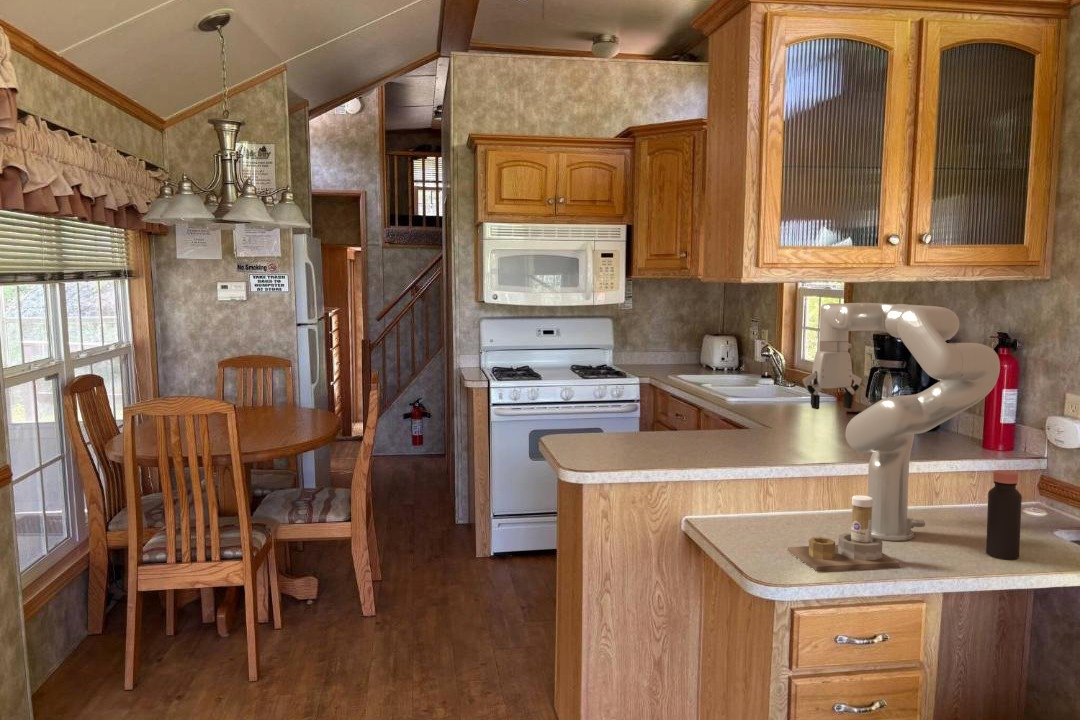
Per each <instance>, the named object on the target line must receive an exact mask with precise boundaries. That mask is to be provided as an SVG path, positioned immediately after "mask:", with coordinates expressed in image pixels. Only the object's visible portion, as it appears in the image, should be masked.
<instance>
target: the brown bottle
mask: <svg viewBox="0 0 1080 720" xmlns="http://www.w3.org/2000/svg"><path fill="white" fill-rule="evenodd" d="M1018 474H1019V473H1018V472H1015V471H1011V470H1003V469H1002V470H999V469H998V470H993V477H992V479H993V480H992V481H993V484H994V486H993V487H992V488H990V489H989V490H988V492H987V493H988V494H987V517H986V521H987V522H986V540H985V541H986V546H985V547H986V548H985V552H986V555H988V556H990V557H992V558H995V559H999V560H1005V561H1006V560H1007V561H1013V560H1014V561H1015V560H1017V559H1019V558H1020V547H1021V523H1022V522H1021V521H1022V498H1023V496H1022V494H1021V492H1020V491H1018V489H1017V488H1016V486H1018V480H1019V477H1018V476H1019V475H1018Z"/></svg>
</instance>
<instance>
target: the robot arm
mask: <svg viewBox="0 0 1080 720" xmlns="http://www.w3.org/2000/svg"><path fill="white" fill-rule="evenodd" d="M819 312H820V313H819V315H820V316H819V343H818V344H819V345H818V347H819V348H818V351H817V352H815V355H814V358H813V365H812V371H811V374H809V375H808V376H806V377H804V378H802V383H803V385H804V386H805V387H804V388H805V389H806V390H807V392H808V393H809V394H810V406H811V407H810V408H811V409H813V410H819V409H820V405H821V404H820V401H821V398H820V397H821V396H820V395H819V393H820V392H821V391H822V389H843V391H844V393H843V399H842V400H843V402H842V403H843V408H845V409H849V410H851V409H852V405H853V398H854V397H853V396H854V395H855V394H856V391H857V390H859V387H860V385H861V383H862V381H863V378H862V377H860V376H857V375H856V374H855V373H853V366H852V364H853V363H852V359H851V354H850V352H848V351H849V349H852V347H853V345H852V343H849V332H857V331H879V332H887V333H888V334H889V335H890V336H891V337H894V338H896V339H897V338H899V339H900V340H901V342H902V343H903V344H904V346H905V347H906V348H907V349H908V351H909V352H910V353H911V355H912V357H913V358H914V359H915V360H916V362H917V363H918V365H920V367H921V368H922V370H923V372H925V373H926V374H927V375H928V376H930V377H931V378H933V379H935V380H937V381H938V382H936V383H934V384H933V385H931V386H930V387H928V388H926V389H924V390H923V391H920V392H918V393H916V394H908V395H907V394H906V395H894V396H889V397H886V398H882V399H881V400H877V402H874V404H872V405H871V406H869V407H867V408H865V409H864V410H862V411H860V412H859V413H858V414H856V415H854V416H853V417H852V418H851V419H850V421H849V422H848V423H847V426H846V429H845V434H844V435H845V439H846V442H847V444H848V445H849V447H850V448H851V449H852V450H855V451H857V452H859V453H871V456H870V459H869V463H868V474H867V475H868V477H867V479H868V480H867V496H869V497H871V498H873V506H872V530H871V535H872V536H876V537H878V538H880V539H882V541H883V540H884V541H893V542H894V541H901V540H902V541H908V539H909V540H911V539H913V538H914V531H913V529H914V528H915V527H916V528H924V527H925V526H926V522H925V519H921V518H920V519H915V518H913V517H909V516H908V514H909V513H908V510H909V509H908V508H909V507H908V504H909V476H910V459H911V453H912V447H913V444H914V440H915V439H914V438H915V435H918V434H923V433H927V432H928V431H930V430H933V429H934V428H936V427H937V426H939V425H942V424H943V423H945V422H947V421H948V420H950V419H952V418H954V417H955V416H956V415H959V414H960V413H962V412H964V411H966V410H967V409H970V408H971V407H973V406H975V405H976V404H978V403H979V402H980V401H982V400H983V399H985V398H986V397H987V396H988V395H989V394H990V392H991V391H992V390H993V389H994V388H995V386H996V384H997V382H998V379H999V376H1000V371H1001V364H1000V363H1001V361H1000V358H999V355H998V353H997V352H996V351H995V350H994V349H993V348H991V347H990V346H988V345H987V344H986V345H985V344H983V343H980V342H979V343H978V342H949V343H947V340H950V339H951V338H953V337H954V336H955V335H956V334H957V332H958V331H959V328H960V320H959V317H958V315H957V313H955V312H954V311H953V310H951V309H950V308H947V307H945V306H944V307H942V306H935V305H922V304H907V303H905V304H904V303H897V304H892V303H878V302H846V303H835V302H834V303H833V302H831V303H823V304H822V305H821V306H820V311H819ZM852 383H853V384H852Z"/></svg>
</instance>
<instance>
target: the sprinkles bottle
mask: <svg viewBox="0 0 1080 720" xmlns="http://www.w3.org/2000/svg"><path fill="white" fill-rule="evenodd" d="M851 505H852V506H851V507H852V508H851V509H852V512H851V528H850V529H851V530H850V531H851V532H850V533H851V542H855V543H863V544H869V543H871V530H872V506H873V498H871V497H869V496H868V495H861V494H856V495H853V496H852V497H851Z"/></svg>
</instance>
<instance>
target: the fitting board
mask: <svg viewBox="0 0 1080 720" xmlns="http://www.w3.org/2000/svg"><path fill="white" fill-rule="evenodd" d="M788 551H789V552H790V553H791V554H793V555H794V556H796V557H797V558H799V559H800V560H801V561H803V562H804V563H806V564H807V565H808V566H810V567H811V568H813V569H814V570H815V572H816V571H824V572H837V571H838V572H840V571H856V570H857V571H858V570H861V571H862V570H875V569H877V570H878V569H895V568H896V569H897V568H900V562H899V561H898V560H896V559H895V558H892V557H891V556H889V555H887V554H885V553H884V552H883V539H880V538H878V537H876V536H872V535H871V543H869V544H863V543H855V542H851V532H847V533H840V534H838V544H836V541H835V540H833V539H831V538H828V537H821V536H818V537H811V538H809V539H808V545H807V546H788V547H787V552H788ZM790 553H789V554H790ZM791 554H790V555H791ZM793 555H792V556H793ZM794 556H793V557H794ZM797 558H796V559H797ZM800 560H799V561H800ZM801 561H800V562H801ZM803 562H802V563H803ZM804 563H803V564H804ZM806 564H805V565H806ZM807 565H806V566H807ZM808 566H807V567H808ZM810 567H809V568H810ZM811 568H810V569H811ZM813 569H812V570H813ZM814 570H813V571H814Z"/></svg>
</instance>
